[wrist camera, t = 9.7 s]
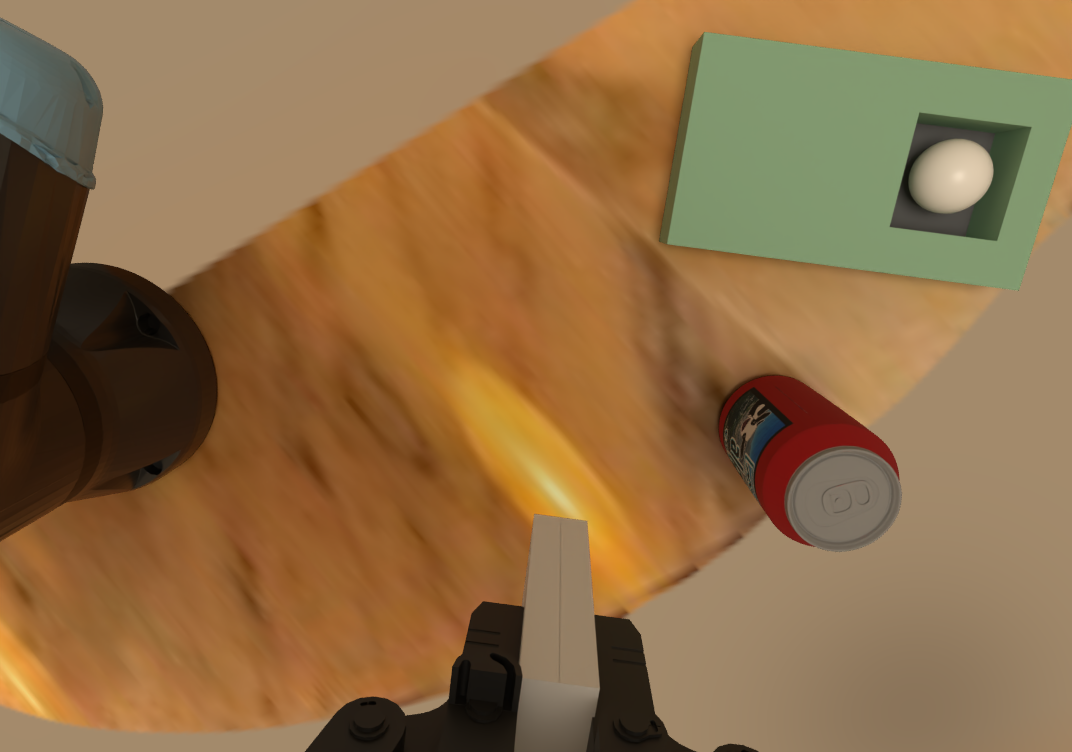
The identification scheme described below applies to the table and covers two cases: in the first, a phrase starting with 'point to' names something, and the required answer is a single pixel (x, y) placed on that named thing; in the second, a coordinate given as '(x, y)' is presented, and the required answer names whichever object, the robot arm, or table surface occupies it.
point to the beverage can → (810, 464)
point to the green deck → (858, 159)
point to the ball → (950, 176)
